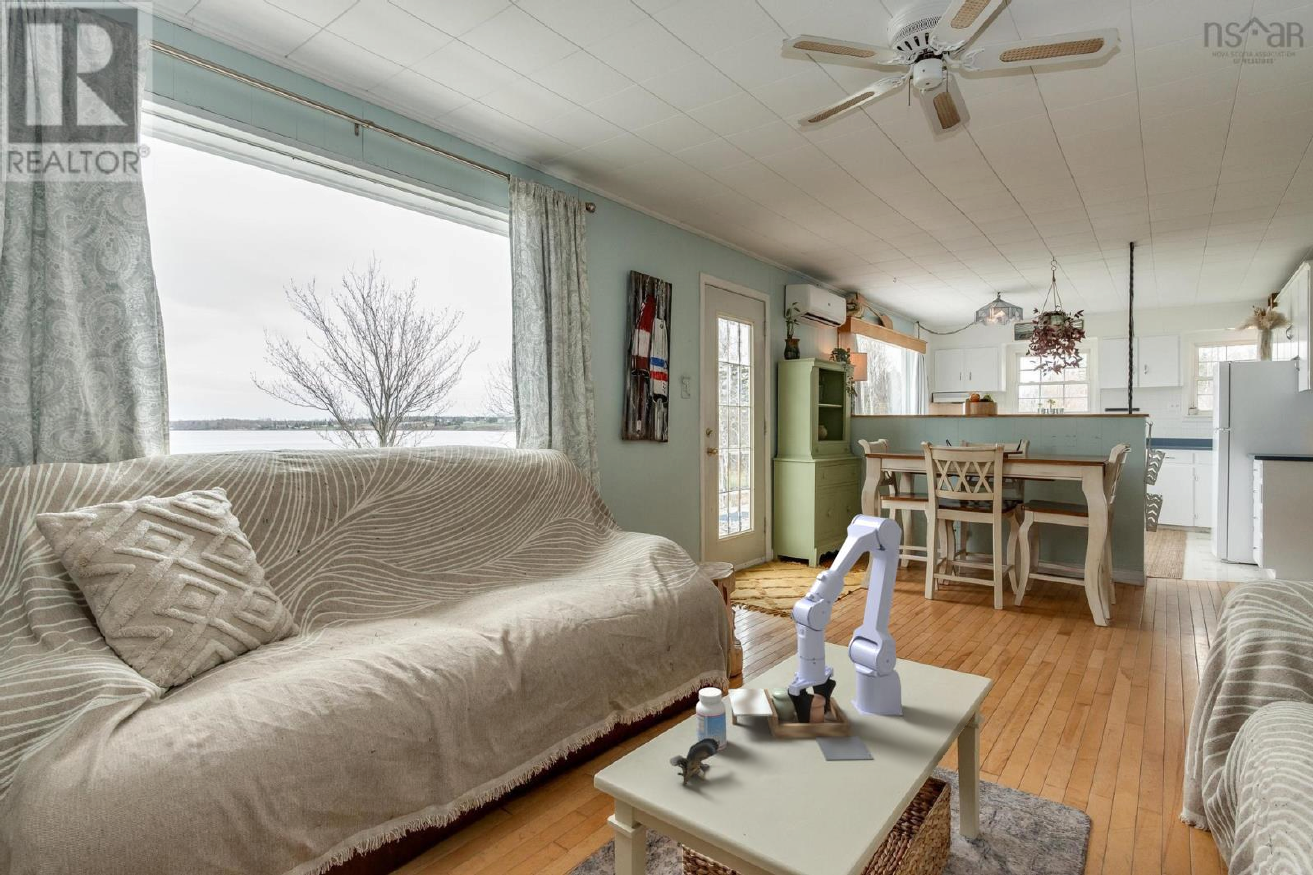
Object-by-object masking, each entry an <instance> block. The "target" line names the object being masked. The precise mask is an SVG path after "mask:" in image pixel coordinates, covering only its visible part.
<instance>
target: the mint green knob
mask: <svg viewBox="0 0 1313 875" xmlns="http://www.w3.org/2000/svg"><path fill="white" fill-rule="evenodd" d="M788 689H789V687H787V686H786V687H785V686H779V687H778V686H777V687H774V688H773V689H772V690H771V694H772V695H771V696H772V698H774V708H775V710H776V713H777V715H778V719H779V720H791V719H793V718H794V704H793V702H792V700H791V699H790V697H789V695H788Z"/></svg>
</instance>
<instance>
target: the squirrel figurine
mask: <svg viewBox="0 0 1313 875" xmlns="http://www.w3.org/2000/svg"><path fill="white" fill-rule="evenodd" d="M718 747H719V745H718V744H717V742H716V740H714V739H712V738H705V739H703V740H701V741H699V742H697V741H696V743H695V744H692V745H691V746H690V747H689V750H688V751H687V752H688V753H687V754H686V757H683V756H682V755H679V754H678V755H675V756H673V757H671V758H670V759H669V764H670V765H671V766H672V767H678V768H681V770H682V772H677V773H676V774H677V775H678V776H681V777H683V778H682V779H683V782H682V786H684V787H685V786H686V784H687V783H688V782H689V781H690V778H691V776H692V775H694V774H695V775H698V776H699V777H701V778H703V779H704V780H707V779H706V773H705V772H704V771H703V770H702V769H701V767H700V766H702V767H710V765H709V764H707V763H703V762H702V761H705V760H707V759H709V758H710V757H713V756H715V755H717V753H718V751H719V750H718ZM717 750H718V751H717Z"/></svg>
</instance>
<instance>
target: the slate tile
mask: <svg viewBox="0 0 1313 875" xmlns="http://www.w3.org/2000/svg"><path fill="white" fill-rule="evenodd" d="M814 738H815V741H816V743H817V745H818V746H819V749H820V751H821V752H822V755H823V757H824V759H825V761H828V762H829V761H873V760H874V758H873V756H872V755H871V753H870V752H869V749H868V748H867V747H866V745H865V744H864V742H863V741H862V739H861V737H860V736H858V735H857V736H851V737H814Z"/></svg>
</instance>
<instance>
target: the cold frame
mask: <svg viewBox="0 0 1313 875" xmlns="http://www.w3.org/2000/svg"><path fill="white" fill-rule="evenodd" d="M727 693H728V696H729V700H730V704H731V720H732V722H731V723H732V725H738V717H760V716H761V717H763V716H764V717H766V721H767V723H768V726H769V729H770V732H771V735H772V738H773V739H781V738H782V739H785V738H786V739H787V738H788V739H791V738H793V739H794V738H795V739H797V738H815V737H852V725H851V723H850V720H849V719H848V718H847V717H846V715H845V713H844V712H843V710H842V709H841V707H840V706H839V704H838V702H837V700H836V699H835V697H833V696H831V697H830V700H829V704H828V709H827V713H826V714H825V715H824V723H799V721H798V717H797V713H796V710H795V707H794V718H793V719H791V720H779V719H778V715H777V713H776V710H775V708H774V697H771V696H770V693H769V690H768V689H764V688H729V689H727Z"/></svg>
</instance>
